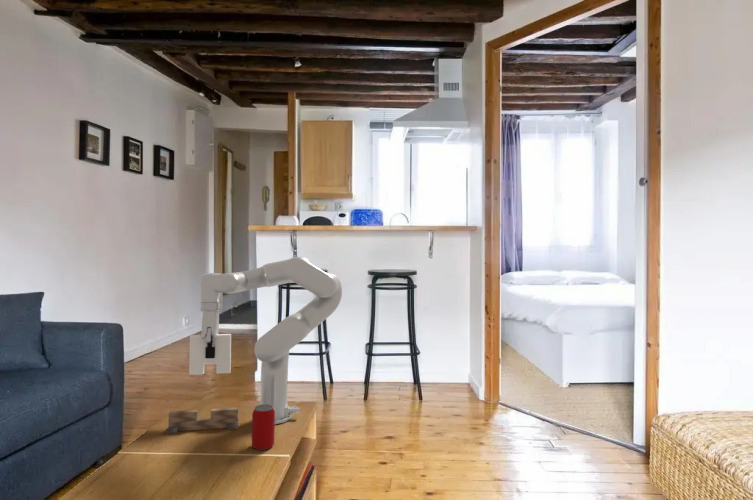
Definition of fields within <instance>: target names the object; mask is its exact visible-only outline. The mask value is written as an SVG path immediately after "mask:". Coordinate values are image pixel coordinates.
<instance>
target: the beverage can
mask: <svg viewBox="0 0 753 500" xmlns="http://www.w3.org/2000/svg"><path fill="white" fill-rule="evenodd" d="M251 416H252V418H251V446H252V447H253V448H254V449H255V450H258V451H259V450H260V451H262V450H268V449H270V448H271V447H273V445H274V444H275V431H276V430H275V429H276V428H275V426H276V424H275V411H274V409H273V406H272V405H267V404H264V405H260V404H258V405H256V406H254V408H253V411H252V415H251Z"/></svg>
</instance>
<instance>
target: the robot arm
mask: <svg viewBox="0 0 753 500" xmlns="http://www.w3.org/2000/svg"><path fill="white" fill-rule="evenodd" d="M290 283H295V284H297V285H299V286H300V287H302V288H303V289H305V290H307V291H308V292H309V293H311V294H313V295H315V298H313V299H312V300H311V301H310V302H308V303H307V304H306V305H305V306H303V307H302V308H301V309H300V310H297V311H296V312H295V313H292V314H290V315H288V316H286V317H284V319H282V320H281V321H280V322H278V323H277V324H276V325H275V326H273V327H272V328H270V329H269V330H268V331H267V332H265V333H264V334H263V335H262V336H261V337H259V338H258V339H257V341H256V342H255V345H254V350H253V351H254V355H255V358H257V360H258V361H260V362H261V367H260V368H261V369H260V397H259V398H260V400H259V401H260V403H259V405H264V404H267V405H272V406H273V409H274V411H275V425H278V424H283V423H286V422H288V421H289V420H291V419H292V414H300V413H301V409H300V407H297V406H293V405H292V406H290V405H289V403H288V382H289V378H288V377H289V359H290V350H292V348H294V347H295V346H297V345H298V344H299V343H300V342H301V341H303V340H304V339H305V338H306V337H307V336H308V335H309V333H311V332H312V331H313V330H314V329H316V328H317V327H318V326H319V325H321V324H322V323H323V322H324V321H325V320H327V319H328V318H329V317H330V316H331V315H332V314H333V313H335V311H336V310H337V308H338V307H339V305H340V303H341V300H342V297H343V287H342V283H341V279H340V278H339V277H338V276H337V275H336V274H334V273H332V272H325V271H323V270H322V269H320V268H318V267H317V266H315V265H314V264H312V262H311V261H310V260H309V259H308V257H305V256H293V257H291V258H288V259H283V260H279V261H275V262H270V263H266V264H263V265H262V266H260V267H257V268H254V269H253V268H252V269H248V270H243V271H238V272H228V273H227V272H226V273H218V272H209V273H208V272H206V273H203V274H202V275H201V278H200V312H202V318H201V319H202V320H201V334H200V335H201V338H202V339H204V338H205V337H206V347H205V358H215V347H214V339H215V338H216V337H217V334H219V331H220V329H219V328H220V312H222V311H223V299H224V298H223V296H224V295H223V294H227V295H228V294H229V295H230V294H231V295H232V294H236V293H241V292H247V291H251V290H256V289H260V288H261V289H262V288H271V287H275V286H280V285H284V284H290ZM205 335H206V336H205ZM211 337H213V338H211ZM211 340H212V341H211Z"/></svg>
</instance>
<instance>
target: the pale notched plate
mask: <svg viewBox="0 0 753 500" xmlns="http://www.w3.org/2000/svg"><path fill="white" fill-rule="evenodd" d="M205 336H206V335H205ZM211 338H213V337H211ZM211 341H212V340H211ZM205 347H206V337H205V338H204V339H202V338H201V334H191V335H189V362H188V363H189V364H188V365H189V367H188V368H189V370H188V371H189V372H188V373H189V374H188V375H189V376H198V375H204V374H205V365H206V366H207V365H216V370H215V371H216V372H215V373H216V375H217V374H218V375H220V374H231V372H232V371H231V370H232V369H231V365H232V333H221V334H220V333H218V334H217V337H216V338H215V339H214V347H215V358H205Z"/></svg>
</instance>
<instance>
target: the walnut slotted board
mask: <svg viewBox="0 0 753 500" xmlns="http://www.w3.org/2000/svg"><path fill="white" fill-rule="evenodd" d="M198 414H199V409H189V410H171V411H170V410H169V412H168V427H166V434H167V435H169V434H177V433H178V432H181V431H184V432H185V431H196V430H197V431H198V430H211V429H214V430H215V429H226V428H227V431H228V430H229V431H230V430H237V429H238V426H239V407H223V408H211V409H210V417H206V418H205V417H203V418H202V417H201V418H199V415H198Z"/></svg>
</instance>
